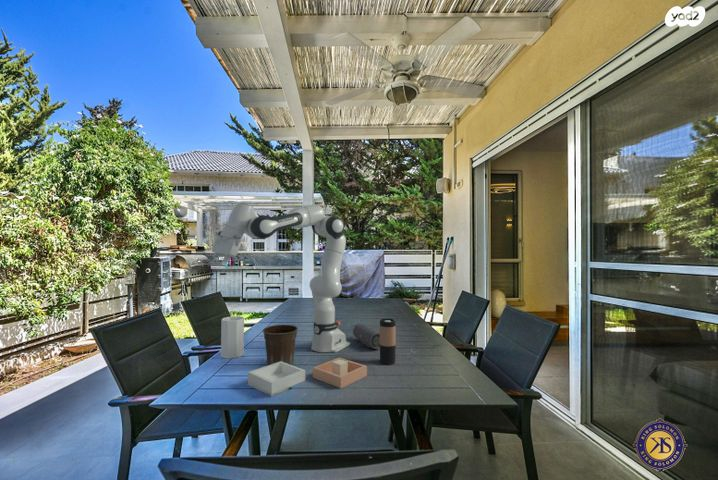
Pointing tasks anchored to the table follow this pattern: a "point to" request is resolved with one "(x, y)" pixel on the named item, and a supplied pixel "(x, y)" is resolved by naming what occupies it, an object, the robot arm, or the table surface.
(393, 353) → the travel mug
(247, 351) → the table surface
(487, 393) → the table surface
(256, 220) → the robot arm
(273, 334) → the plant pot
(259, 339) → the table surface
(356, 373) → the terracotta bin
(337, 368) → the sandstone block
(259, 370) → the light grey bin
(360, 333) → the bluetooth speaker
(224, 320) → the cup
